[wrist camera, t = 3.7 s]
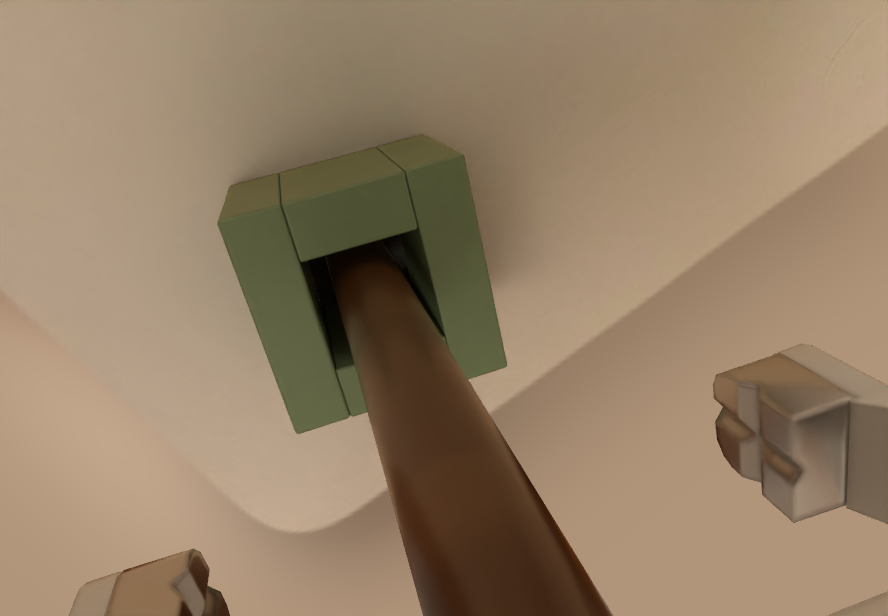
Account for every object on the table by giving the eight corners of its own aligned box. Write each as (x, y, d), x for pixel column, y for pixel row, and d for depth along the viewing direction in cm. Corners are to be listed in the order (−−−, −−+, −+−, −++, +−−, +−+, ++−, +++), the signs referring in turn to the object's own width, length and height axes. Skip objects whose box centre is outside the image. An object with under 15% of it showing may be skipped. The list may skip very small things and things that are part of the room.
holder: (291, 361, 23) (296, 436, 18) (228, 185, 20) (215, 221, 16) (462, 308, 24) (507, 367, 19) (422, 134, 21) (463, 153, 17)
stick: (334, 287, 22) (507, 905, 6) (317, 232, 22) (462, 773, 5) (390, 270, 23) (700, 819, 6) (375, 216, 22) (685, 681, 5)
